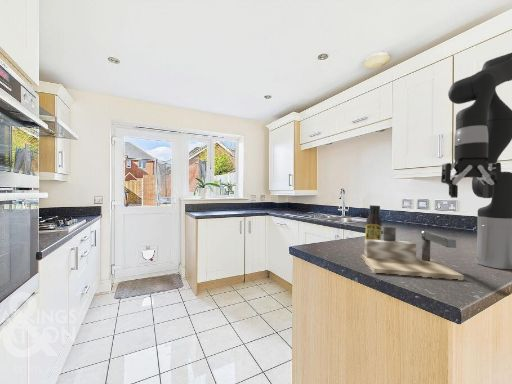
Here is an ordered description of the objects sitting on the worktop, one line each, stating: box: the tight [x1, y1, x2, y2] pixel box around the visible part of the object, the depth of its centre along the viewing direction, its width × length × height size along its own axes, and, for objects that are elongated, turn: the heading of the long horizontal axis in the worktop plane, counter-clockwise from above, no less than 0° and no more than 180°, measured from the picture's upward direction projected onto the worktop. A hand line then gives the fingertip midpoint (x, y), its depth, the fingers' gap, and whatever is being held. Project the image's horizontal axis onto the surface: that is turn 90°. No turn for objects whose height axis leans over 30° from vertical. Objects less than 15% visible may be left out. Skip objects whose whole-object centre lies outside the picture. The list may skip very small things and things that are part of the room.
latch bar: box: [420, 230, 457, 249], centre depth 78 cm, size 16×3×2 cm, turn 168°
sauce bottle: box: [364, 204, 383, 240], centre depth 104 cm, size 6×6×20 cm
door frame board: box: [360, 226, 464, 281], centre depth 80 cm, size 24×18×12 cm
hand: (470, 197), depth 71 cm, fingers open, 8 cm apart
